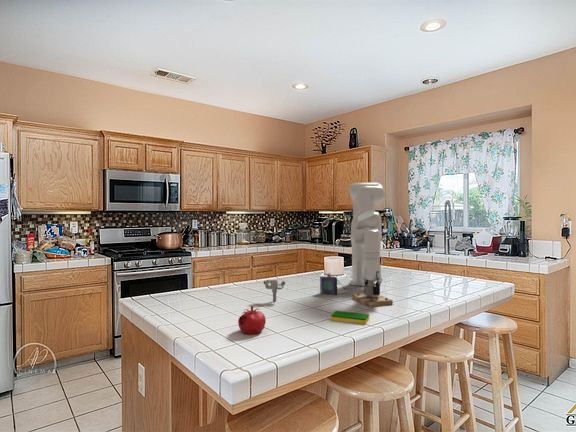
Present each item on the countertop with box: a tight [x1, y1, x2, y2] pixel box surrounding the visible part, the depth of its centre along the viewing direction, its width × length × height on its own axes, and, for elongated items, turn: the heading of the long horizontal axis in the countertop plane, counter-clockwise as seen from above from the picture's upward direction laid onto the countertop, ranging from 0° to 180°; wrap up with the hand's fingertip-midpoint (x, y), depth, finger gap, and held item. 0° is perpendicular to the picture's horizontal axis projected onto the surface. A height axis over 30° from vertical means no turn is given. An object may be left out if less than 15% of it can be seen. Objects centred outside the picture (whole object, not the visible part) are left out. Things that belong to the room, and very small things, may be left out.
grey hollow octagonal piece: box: [363, 284, 381, 297], centre depth 171 cm, size 7×7×4 cm
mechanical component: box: [263, 279, 286, 303], centre depth 171 cm, size 3×10×10 cm, turn 79°
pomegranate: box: [237, 305, 267, 335], centre depth 130 cm, size 10×10×9 cm
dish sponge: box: [330, 310, 370, 325], centre depth 143 cm, size 7×14×2 cm, turn 67°
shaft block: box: [352, 279, 394, 307], centre depth 171 cm, size 16×12×11 cm
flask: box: [319, 273, 338, 296], centre depth 187 cm, size 9×3×11 cm, turn 65°
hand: (371, 292), depth 171 cm, fingers closed on grey hollow octagonal piece, 7 cm apart
